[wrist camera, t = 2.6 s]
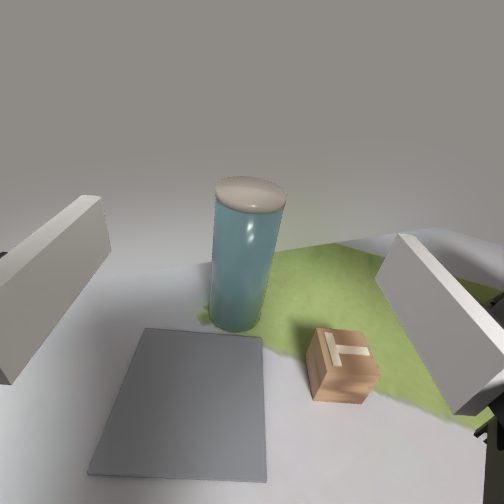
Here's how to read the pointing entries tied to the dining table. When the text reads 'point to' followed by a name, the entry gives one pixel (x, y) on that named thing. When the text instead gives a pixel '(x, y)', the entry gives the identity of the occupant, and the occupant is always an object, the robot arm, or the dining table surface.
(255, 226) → the jar
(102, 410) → the dining table surface
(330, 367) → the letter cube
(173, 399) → the mat
